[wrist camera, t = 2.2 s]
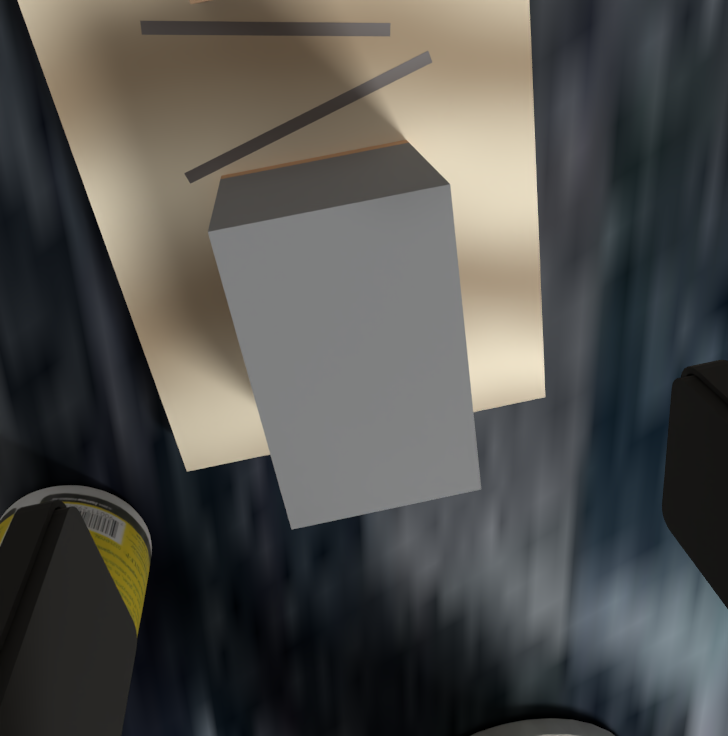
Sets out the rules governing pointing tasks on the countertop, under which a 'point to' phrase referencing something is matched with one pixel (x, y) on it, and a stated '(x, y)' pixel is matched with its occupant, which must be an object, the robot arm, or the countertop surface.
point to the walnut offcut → (198, 1)
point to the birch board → (288, 144)
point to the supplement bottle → (104, 536)
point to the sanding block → (351, 328)
